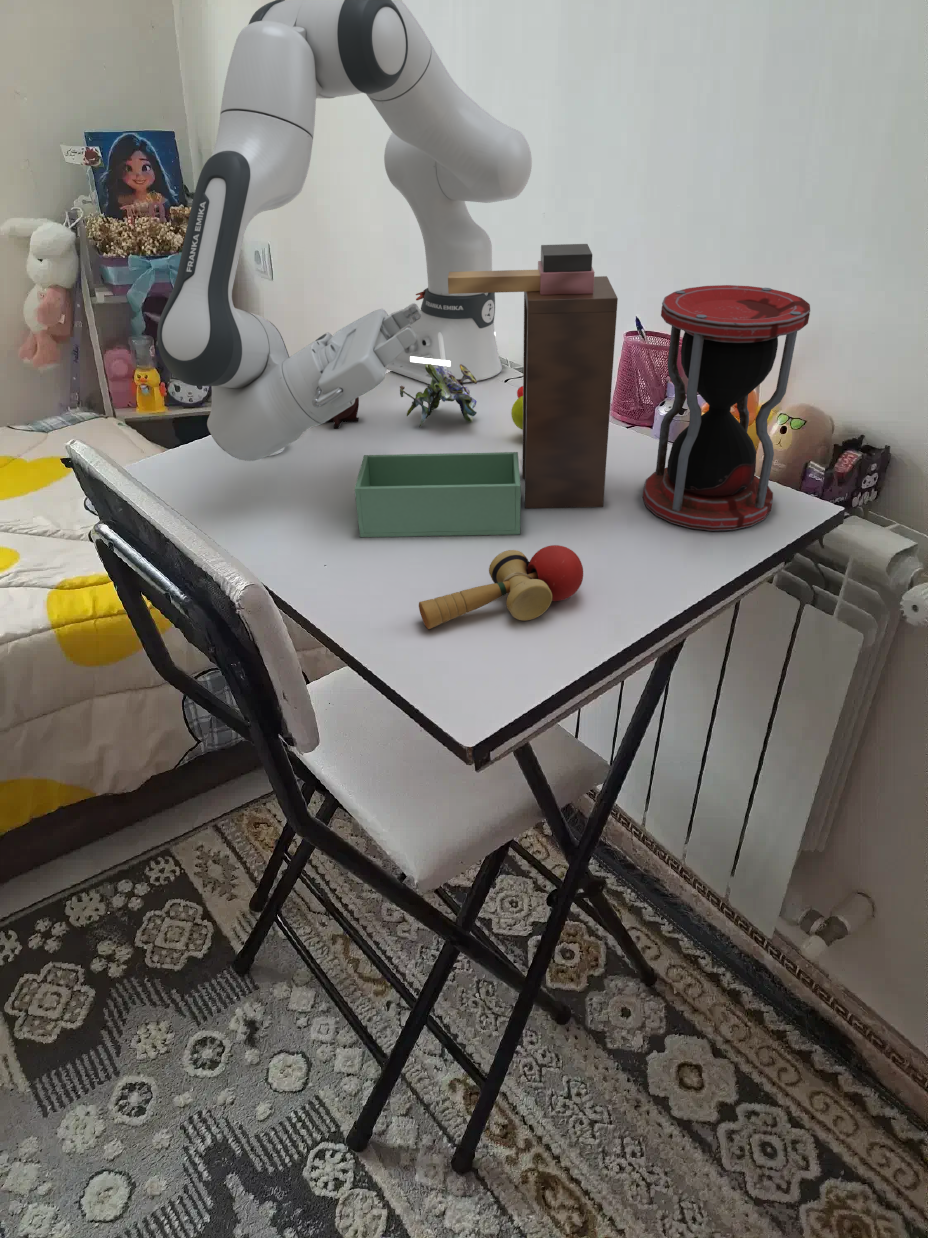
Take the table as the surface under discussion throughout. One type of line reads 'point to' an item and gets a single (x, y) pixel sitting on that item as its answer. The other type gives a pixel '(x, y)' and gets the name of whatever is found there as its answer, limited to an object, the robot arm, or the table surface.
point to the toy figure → (518, 409)
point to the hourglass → (721, 403)
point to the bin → (439, 494)
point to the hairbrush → (535, 274)
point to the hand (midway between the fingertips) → (416, 320)
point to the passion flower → (444, 392)
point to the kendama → (514, 586)
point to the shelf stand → (567, 395)
